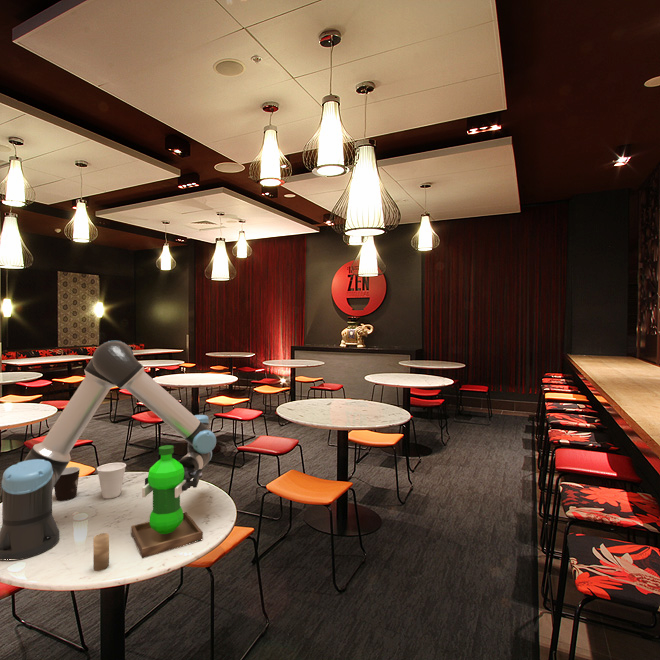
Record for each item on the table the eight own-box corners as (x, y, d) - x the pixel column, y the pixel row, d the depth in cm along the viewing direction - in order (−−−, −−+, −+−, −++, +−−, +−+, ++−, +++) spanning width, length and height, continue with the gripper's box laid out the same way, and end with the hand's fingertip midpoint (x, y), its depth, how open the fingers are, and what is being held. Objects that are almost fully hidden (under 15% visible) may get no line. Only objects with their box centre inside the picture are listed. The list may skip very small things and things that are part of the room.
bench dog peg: (94, 572, 105) (94, 541, 105) (92, 565, 108) (92, 535, 108) (109, 567, 107) (109, 537, 107) (108, 561, 110) (108, 531, 110)
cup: (118, 488, 162) (118, 460, 162) (131, 494, 156) (131, 465, 156) (91, 496, 154) (91, 467, 154) (104, 503, 148) (104, 473, 148)
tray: (142, 558, 112) (142, 549, 112) (131, 533, 126) (131, 525, 126) (202, 540, 122) (202, 531, 122) (186, 519, 135) (186, 511, 135)
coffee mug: (66, 503, 148) (66, 475, 148) (46, 501, 150) (46, 474, 150) (91, 490, 159) (91, 465, 159) (72, 489, 161) (72, 463, 161)
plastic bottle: (154, 522, 128) (154, 443, 128) (188, 521, 129) (188, 442, 129) (142, 538, 118) (141, 452, 118) (179, 537, 119) (179, 451, 119)
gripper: (219, 477, 141) (196, 505, 119) (157, 477, 142) (123, 505, 119) (219, 456, 141) (196, 480, 119) (157, 456, 142) (123, 479, 119)
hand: (159, 492), depth 119 cm, fingers closed on plastic bottle, 9 cm apart
